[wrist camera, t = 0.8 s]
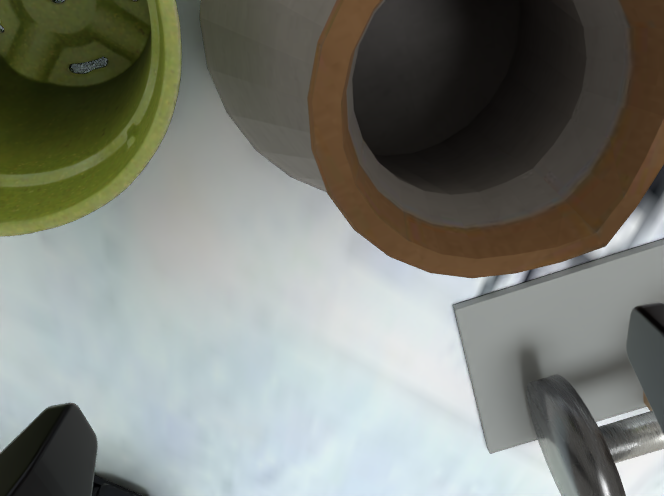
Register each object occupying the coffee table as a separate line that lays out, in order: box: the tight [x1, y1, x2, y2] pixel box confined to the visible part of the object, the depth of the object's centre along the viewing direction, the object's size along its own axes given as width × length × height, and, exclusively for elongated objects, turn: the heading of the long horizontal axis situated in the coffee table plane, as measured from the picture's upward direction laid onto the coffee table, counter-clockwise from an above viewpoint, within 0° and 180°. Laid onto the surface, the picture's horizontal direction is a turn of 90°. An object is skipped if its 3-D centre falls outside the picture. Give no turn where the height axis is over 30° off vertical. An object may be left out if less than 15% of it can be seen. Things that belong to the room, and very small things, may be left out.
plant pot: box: [0, 0, 182, 236], centre depth 15 cm, size 9×9×9 cm
